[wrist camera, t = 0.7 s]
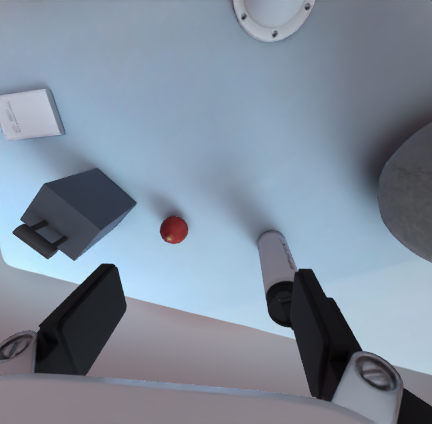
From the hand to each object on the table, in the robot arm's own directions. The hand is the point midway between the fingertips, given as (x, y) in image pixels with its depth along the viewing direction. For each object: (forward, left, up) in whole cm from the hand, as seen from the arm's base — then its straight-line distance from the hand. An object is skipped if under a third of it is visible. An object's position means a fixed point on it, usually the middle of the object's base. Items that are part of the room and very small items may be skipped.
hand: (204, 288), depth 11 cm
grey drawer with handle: (+2, -25, -26) cm, 36 cm away
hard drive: (-13, -40, -35) cm, 55 cm away
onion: (+12, -13, -35) cm, 39 cm away
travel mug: (+18, +8, -35) cm, 40 cm away
